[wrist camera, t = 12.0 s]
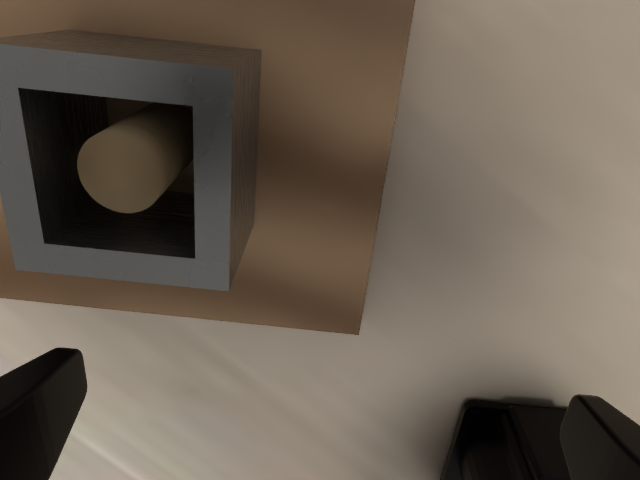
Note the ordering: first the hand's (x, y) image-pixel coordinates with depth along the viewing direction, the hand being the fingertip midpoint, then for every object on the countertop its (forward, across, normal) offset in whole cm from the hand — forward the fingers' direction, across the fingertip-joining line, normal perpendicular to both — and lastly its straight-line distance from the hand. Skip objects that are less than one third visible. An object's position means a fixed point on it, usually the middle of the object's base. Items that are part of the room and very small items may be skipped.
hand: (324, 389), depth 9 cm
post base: (+12, +6, -2) cm, 13 cm away
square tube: (+10, +6, -2) cm, 12 cm away
